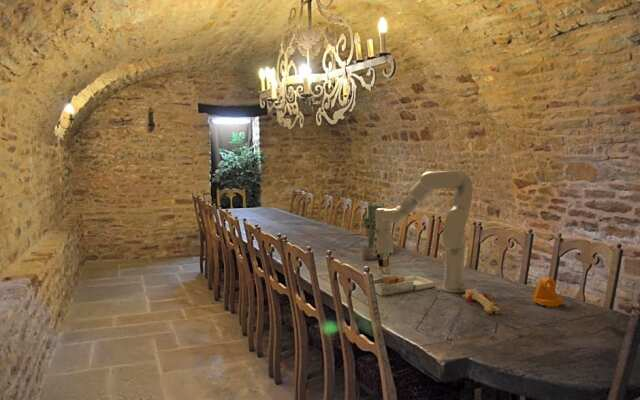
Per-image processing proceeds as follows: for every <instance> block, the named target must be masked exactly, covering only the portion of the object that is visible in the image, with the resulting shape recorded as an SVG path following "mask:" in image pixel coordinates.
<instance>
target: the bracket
mask: <svg viewBox="0 0 640 400" xmlns="http://www.w3.org/2000/svg"><path fill="white" fill-rule="evenodd" d="M537 283H538V284H537V286H536V288H535V291H534V294H533V295H532V301H533V302H535V303H537V304H538V305H540V306H545V307H546V308H552V307H553V308H554V307H559V305H564V299H562V298H561V297H558V295H557V292H556V286H557V282H556V280H554V279H553V278H551V277H548V276H546V275H545V276H542V277H541V278H540V279H539V281H538V282H537Z"/></svg>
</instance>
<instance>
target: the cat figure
mask: <svg viewBox="0 0 640 400" xmlns="http://www.w3.org/2000/svg"><path fill="white" fill-rule="evenodd" d="M462 297H463V298H464V299H465V300H467V302H468V304H470V305H473V302H472V301H476V302H478V303H480V304H481V306H482V307H484V309H483V310H484V311H485V312H486V314H487V315H489V314H491V315H492V314H493V312H494V313H495V314H496V315H499V314H501V310H500V308H499V307H497V306H495V304H496V298H495V296H494V295H491V297H490V298H489V297H488V294H487V293H485V292H484V291H482V293H480V292H479V291H478V289H475V288H471V289H470V288H468V289H467V290H466V291H465V292H464V294H463V295H462ZM489 299H490V300H491V302H490V300H489Z"/></svg>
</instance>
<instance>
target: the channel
mask: <svg viewBox="0 0 640 400" xmlns="http://www.w3.org/2000/svg"><path fill="white" fill-rule="evenodd" d="M392 276H393V275H391V277H392ZM383 278H384V277H380V278H373V279H374V284H375V289H376V293H377V294H376V295H378V296H380V295H381V296H380V297H384V296H389V295H388V294H390V295H394V293H395V294H399V293H404V292H410V291H414V290H413V283H414V281H404V282H400V283H395V284H389V285H386V284H383ZM383 295H384V296H383Z"/></svg>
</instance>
